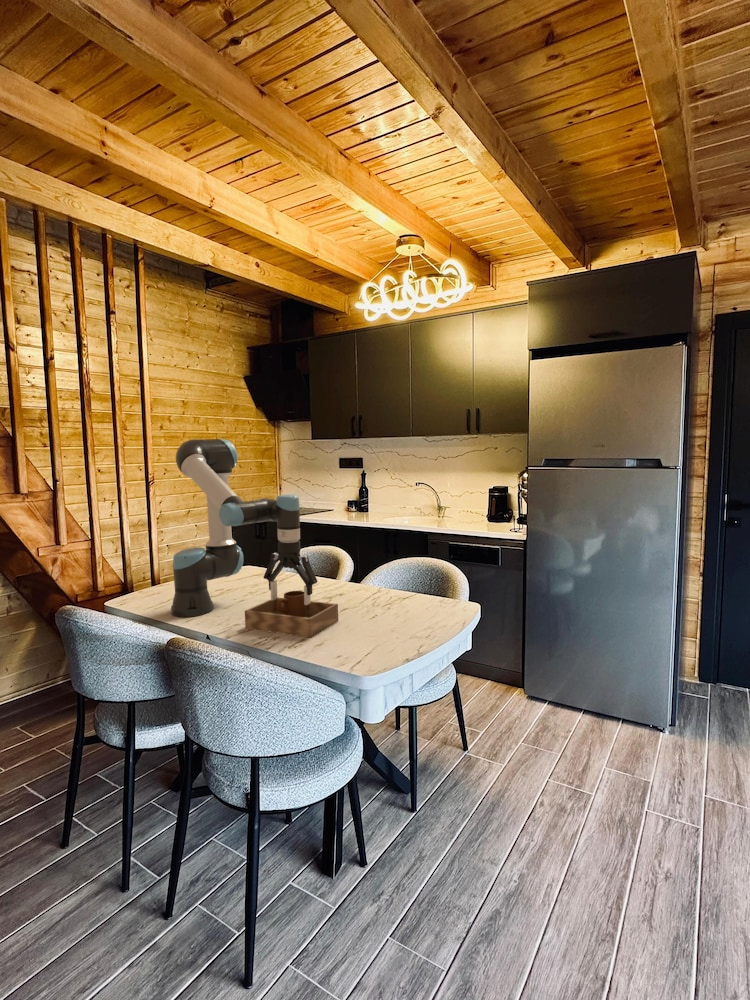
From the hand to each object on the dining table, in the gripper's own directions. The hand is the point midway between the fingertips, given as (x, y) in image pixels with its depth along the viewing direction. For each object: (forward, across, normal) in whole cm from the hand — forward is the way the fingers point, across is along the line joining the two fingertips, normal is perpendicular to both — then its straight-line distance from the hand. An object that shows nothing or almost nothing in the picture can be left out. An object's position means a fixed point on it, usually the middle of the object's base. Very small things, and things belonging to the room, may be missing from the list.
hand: (290, 601), depth 185 cm
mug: (+7, 0, 0) cm, 7 cm away
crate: (+8, +1, 0) cm, 8 cm away
